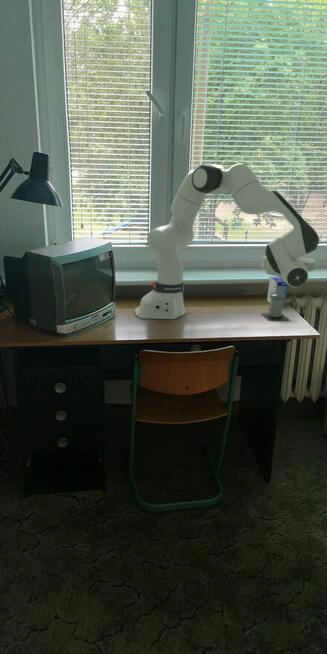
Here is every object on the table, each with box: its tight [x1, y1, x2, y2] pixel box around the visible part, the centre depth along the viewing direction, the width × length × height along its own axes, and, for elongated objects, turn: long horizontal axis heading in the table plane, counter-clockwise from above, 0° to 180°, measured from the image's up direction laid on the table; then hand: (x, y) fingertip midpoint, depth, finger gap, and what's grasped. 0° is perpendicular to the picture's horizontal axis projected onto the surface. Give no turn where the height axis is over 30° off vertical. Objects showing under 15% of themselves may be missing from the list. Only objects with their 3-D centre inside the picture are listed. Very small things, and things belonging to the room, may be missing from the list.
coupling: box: [267, 293, 284, 318], centre depth 212 cm, size 6×6×10 cm
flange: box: [261, 312, 290, 322], centre depth 214 cm, size 9×9×1 cm
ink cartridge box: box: [266, 276, 288, 307], centre depth 231 cm, size 10×6×14 cm, turn 10°
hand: (285, 258), depth 193 cm, fingers open, 8 cm apart
